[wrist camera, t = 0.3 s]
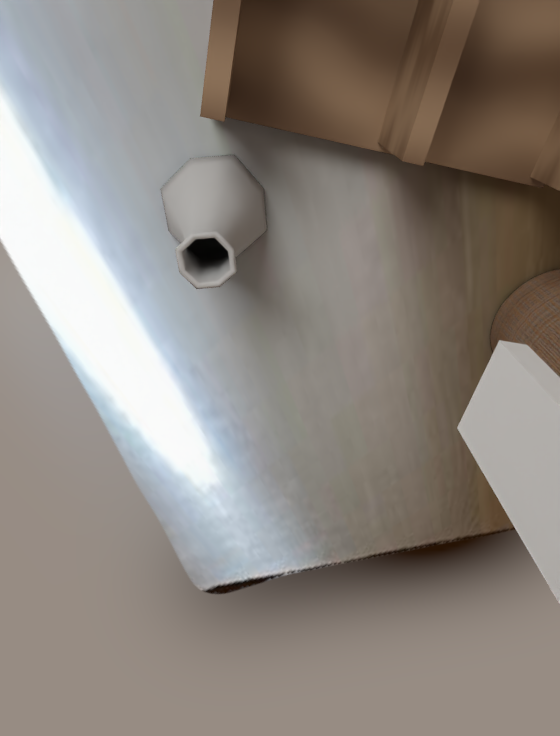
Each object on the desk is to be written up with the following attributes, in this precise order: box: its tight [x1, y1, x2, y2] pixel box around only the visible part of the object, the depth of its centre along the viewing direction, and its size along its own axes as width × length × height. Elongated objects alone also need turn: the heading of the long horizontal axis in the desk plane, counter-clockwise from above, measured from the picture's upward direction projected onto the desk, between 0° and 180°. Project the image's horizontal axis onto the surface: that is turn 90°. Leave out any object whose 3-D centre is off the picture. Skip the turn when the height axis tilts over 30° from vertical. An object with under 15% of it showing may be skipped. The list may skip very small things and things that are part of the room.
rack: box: [200, 0, 560, 191], centre depth 27 cm, size 12×23×8 cm, turn 78°
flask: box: [161, 155, 267, 289], centre depth 31 cm, size 7×7×10 cm
